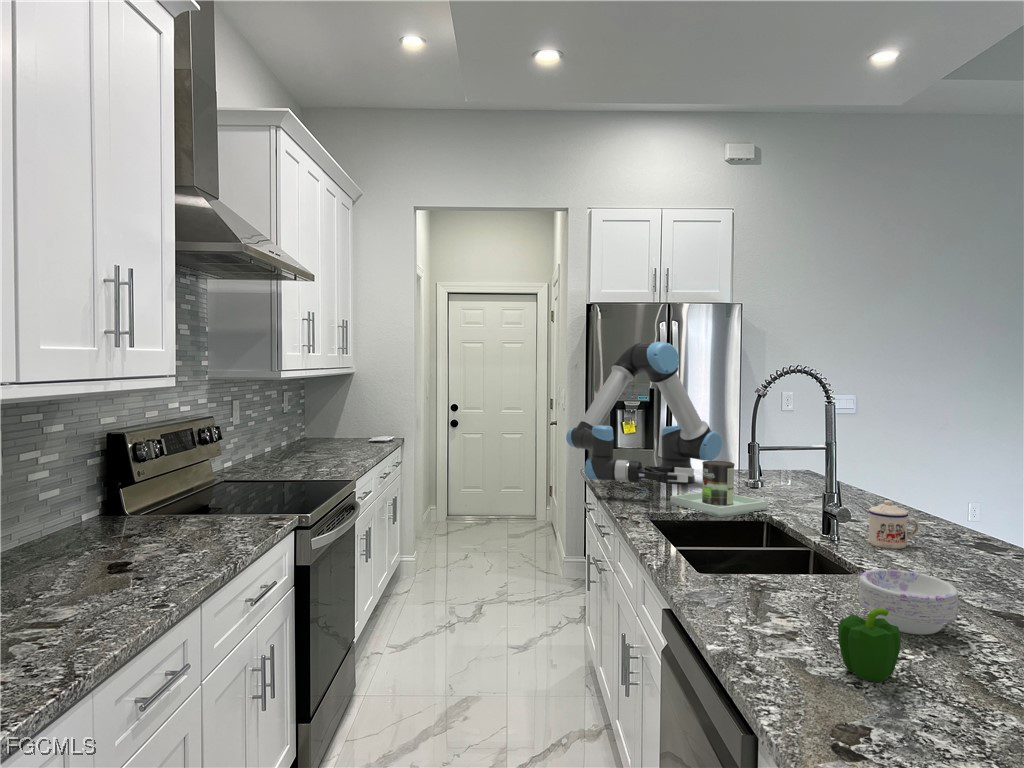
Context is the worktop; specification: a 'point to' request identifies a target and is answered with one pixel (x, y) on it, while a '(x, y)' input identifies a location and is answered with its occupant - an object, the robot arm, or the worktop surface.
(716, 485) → the coffee can
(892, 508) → the teacup with lid
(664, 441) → the robot arm
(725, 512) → the tray
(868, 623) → the bell pepper
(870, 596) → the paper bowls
